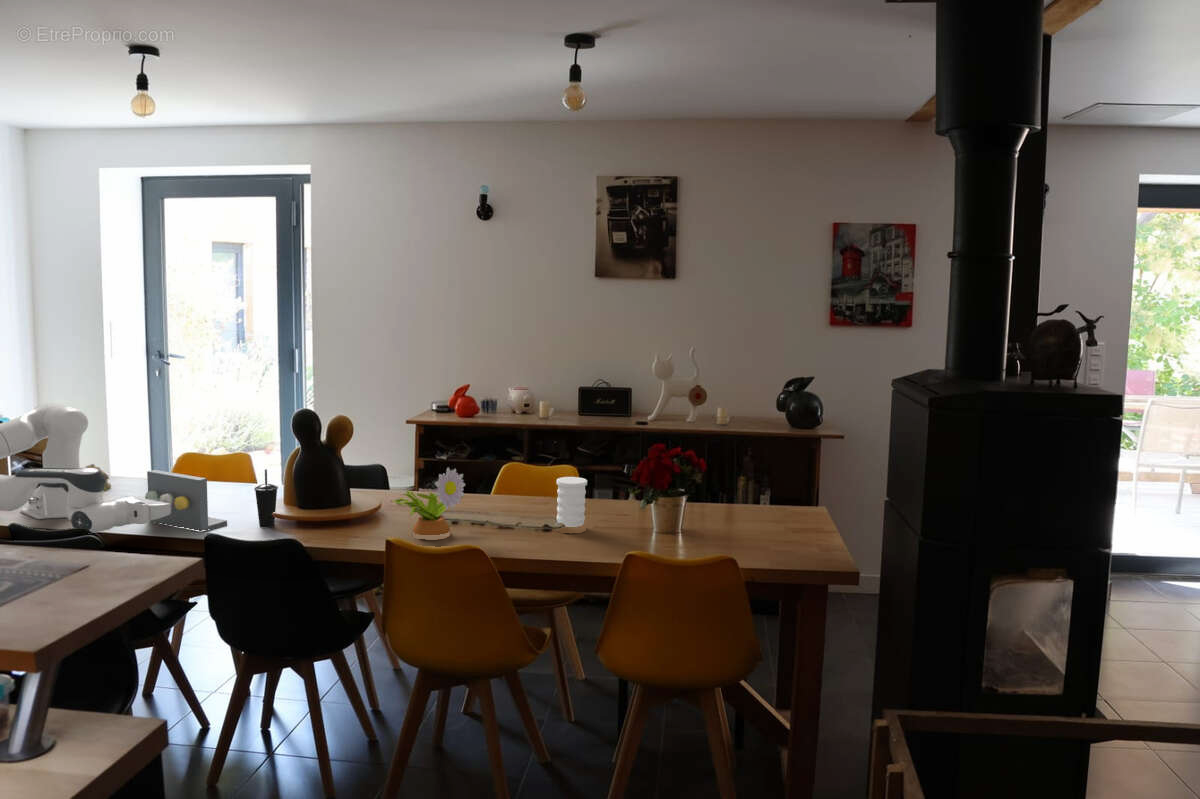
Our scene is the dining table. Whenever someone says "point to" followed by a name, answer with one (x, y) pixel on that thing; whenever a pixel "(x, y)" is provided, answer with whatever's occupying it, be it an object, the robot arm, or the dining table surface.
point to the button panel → (192, 491)
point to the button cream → (168, 498)
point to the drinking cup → (266, 503)
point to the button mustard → (181, 503)
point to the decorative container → (571, 501)
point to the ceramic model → (107, 485)
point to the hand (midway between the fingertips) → (163, 501)
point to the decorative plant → (430, 515)
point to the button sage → (152, 495)
